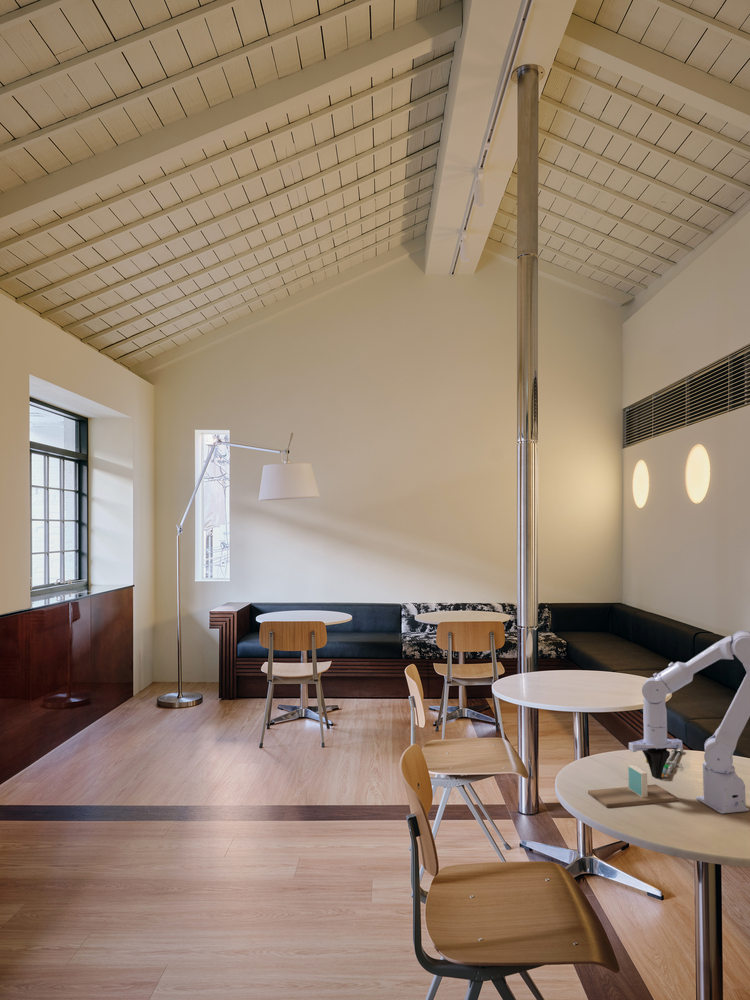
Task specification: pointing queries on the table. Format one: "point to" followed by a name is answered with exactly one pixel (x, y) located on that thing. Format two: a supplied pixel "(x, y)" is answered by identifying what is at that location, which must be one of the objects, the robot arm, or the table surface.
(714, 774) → the robot arm
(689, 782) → the table surface
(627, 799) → the board
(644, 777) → the tile
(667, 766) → the flamethrower
